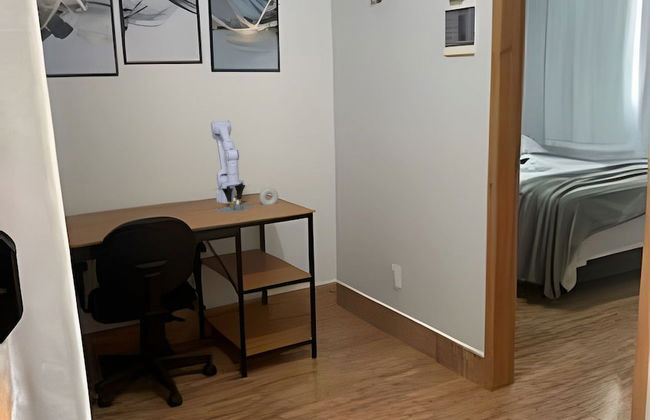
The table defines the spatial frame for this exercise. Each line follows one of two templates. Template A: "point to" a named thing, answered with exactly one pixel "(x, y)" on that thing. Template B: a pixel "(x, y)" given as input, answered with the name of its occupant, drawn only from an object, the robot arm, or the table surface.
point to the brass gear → (234, 202)
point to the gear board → (228, 209)
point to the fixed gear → (237, 206)
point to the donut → (265, 192)
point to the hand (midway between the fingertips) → (234, 200)
